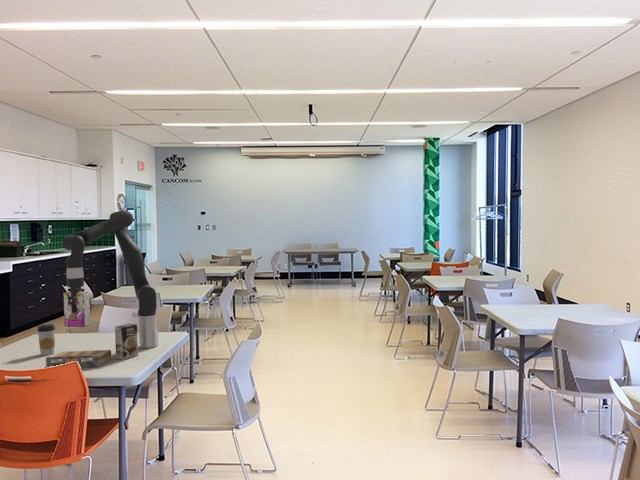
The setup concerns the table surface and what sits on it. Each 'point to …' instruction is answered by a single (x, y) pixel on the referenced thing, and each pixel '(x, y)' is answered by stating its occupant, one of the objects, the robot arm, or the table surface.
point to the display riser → (80, 358)
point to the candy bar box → (77, 311)
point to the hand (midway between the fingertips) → (77, 311)
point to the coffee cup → (46, 339)
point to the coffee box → (126, 341)
